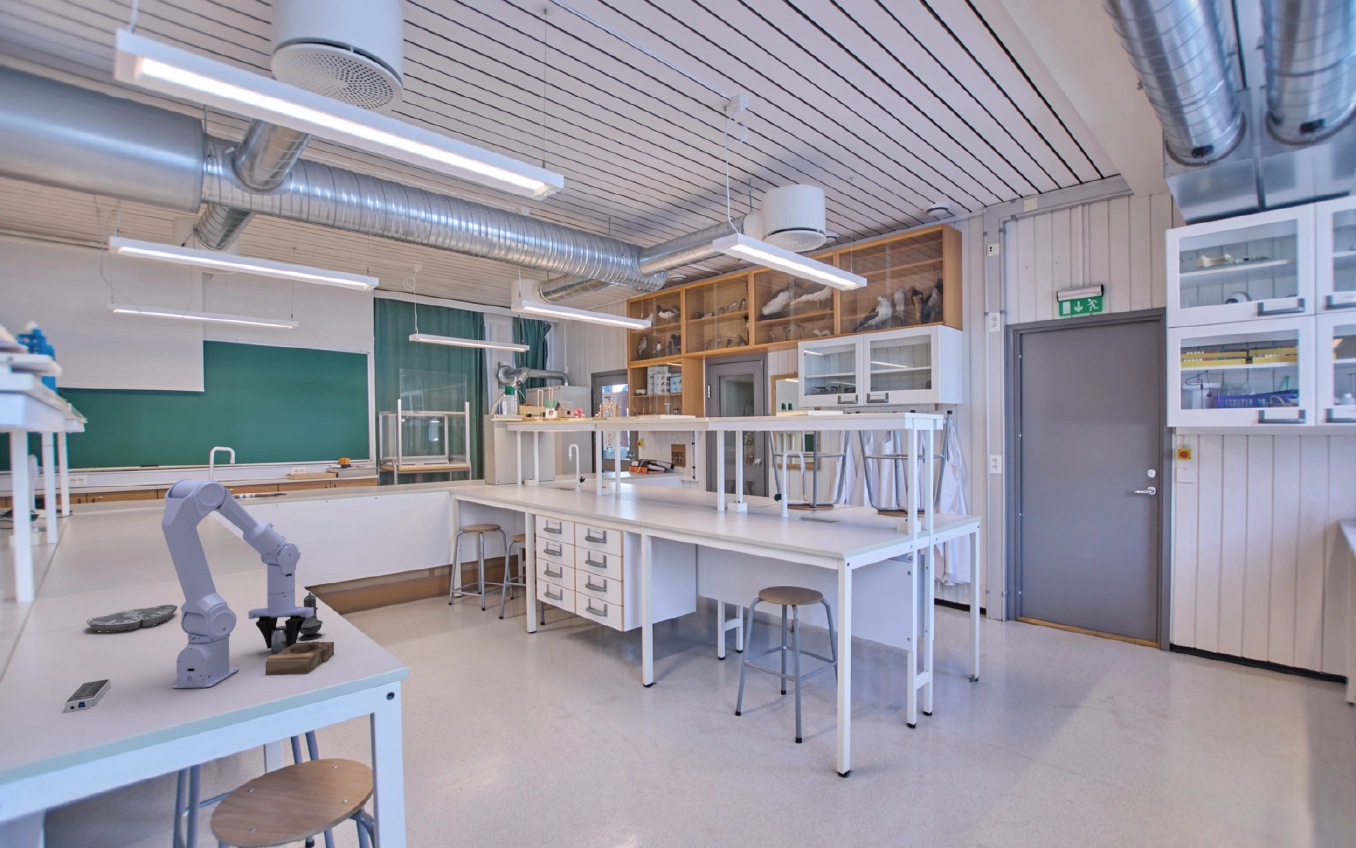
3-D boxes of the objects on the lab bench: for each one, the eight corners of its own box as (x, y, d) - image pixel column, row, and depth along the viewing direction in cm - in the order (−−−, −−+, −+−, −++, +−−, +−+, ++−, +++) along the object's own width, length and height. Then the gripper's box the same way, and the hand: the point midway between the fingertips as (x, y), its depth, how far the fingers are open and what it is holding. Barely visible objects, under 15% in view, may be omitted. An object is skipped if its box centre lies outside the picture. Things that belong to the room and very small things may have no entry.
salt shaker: (293, 642, 160) (293, 595, 160) (301, 635, 166) (300, 590, 166) (319, 640, 162) (319, 593, 162) (325, 632, 167) (325, 588, 167)
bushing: (285, 655, 151) (285, 631, 151) (267, 656, 150) (266, 631, 150) (296, 649, 155) (295, 625, 155) (277, 649, 155) (277, 625, 155)
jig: (309, 673, 139) (309, 657, 139) (263, 675, 139) (263, 658, 139) (337, 653, 152) (337, 638, 152) (295, 654, 151) (294, 639, 151)
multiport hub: (111, 689, 133) (111, 678, 133) (94, 709, 123) (94, 697, 123) (83, 694, 131) (83, 683, 131) (64, 714, 121) (64, 703, 121)
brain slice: (95, 641, 163) (95, 630, 163) (81, 629, 173) (81, 618, 173) (187, 622, 179) (187, 612, 179) (170, 612, 189) (169, 602, 189)
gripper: (320, 586, 157) (320, 640, 157) (260, 587, 156) (261, 642, 156) (304, 594, 150) (305, 650, 150) (242, 595, 149) (243, 652, 149)
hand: (281, 646), depth 153 cm, fingers closed on bushing, 4 cm apart
